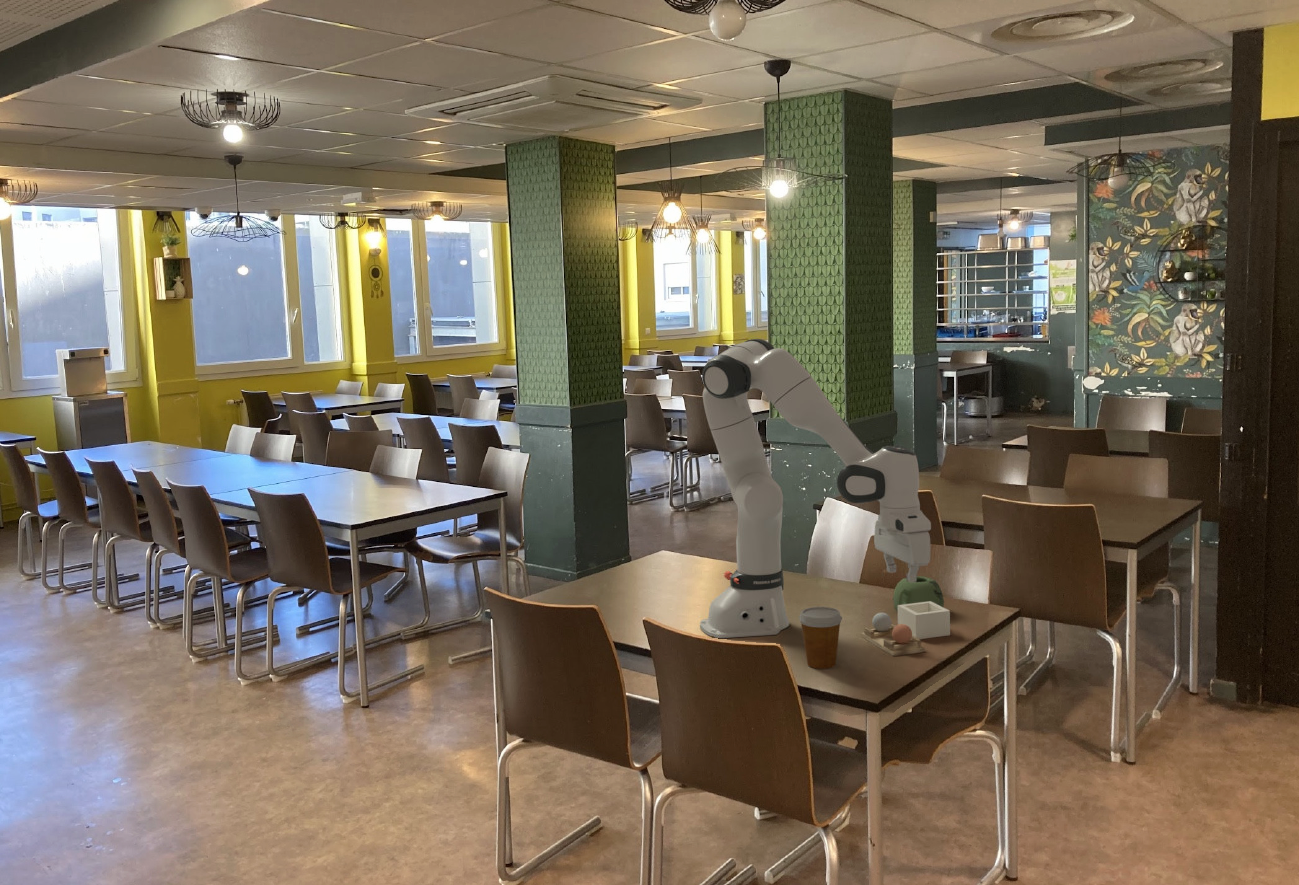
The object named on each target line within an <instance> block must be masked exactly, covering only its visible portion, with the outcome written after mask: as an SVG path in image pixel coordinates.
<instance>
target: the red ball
mask: <svg viewBox="0 0 1299 885" xmlns="http://www.w3.org/2000/svg"><path fill="white" fill-rule="evenodd" d="M892 636H893V639H894V640H895V641H896V642H897V643H900V644H905V643H908V642H909V641H910V640H911V638H912V631H911V629H910V628H909V627H908V626H907V625H905V624H899V625H898V624H897V625H896V626H895V627H894V629H893V631H892Z"/></svg>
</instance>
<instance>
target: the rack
mask: <svg viewBox="0 0 1299 885" xmlns="http://www.w3.org/2000/svg"><path fill="white" fill-rule="evenodd" d="M895 626H897V625H896V624H894V623H892V624H891V627H890V628H889V629H888V630H887V631H884V632H881V631H878V630H876V629H875V628H869V627H864V629H863V632H861V634H860V635H861V637H862V638H864V639H866V640H867V641H868V642H870V643H871V644H873V645H874V646H876V647H878V648H879V649H881V650H883V651H884V652H885V653H887V654H889V655H890V656H892V657H895V656H902V655H909V654H910V655H911V654H917V653H925V652H926V651H925V647H923V646H922V639H918V638H916V637H915V636H912V638H911V640H910V641H909V642H908V643H905V644H900V643H897V642H896V641H895V640H894V639H893V636H892V631H893V629H894V627H895Z"/></svg>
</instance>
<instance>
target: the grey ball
mask: <svg viewBox="0 0 1299 885" xmlns="http://www.w3.org/2000/svg"><path fill="white" fill-rule="evenodd" d="M871 621H872V622H871V623H872V626H873V629H876V630H878V631H881V632H884V631H887V630H888V629H889V628H890V627H891V624H893V623H892V622H893V621H892V618H891V617H890V615H889V614H887V613H885V612H878V613H876V614H874V616H873V617H872V620H871Z"/></svg>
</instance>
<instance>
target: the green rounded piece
mask: <svg viewBox="0 0 1299 885" xmlns="http://www.w3.org/2000/svg"><path fill="white" fill-rule="evenodd" d="M906 578H907V577H904V578H902V579H901V580H899V582H897V584H896V586H895V588H894V590H893V591H894V592H893V596H892V597H893V598H892V602H893V606H894V610H895V611H896V612H898V605H904V604H912V603H920V602H928V601H931V602H933V603H935V604H937V605H939V606H941V607H943V608H944V605H945V600H944V594H943V592H942V589H941V587H940V585H939V583H938V582H937V581H936V580H935V579H934V578H930V577H926V576H920V575H917V581H916V582H912V583H911V582H909V581H907V580H906Z"/></svg>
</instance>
